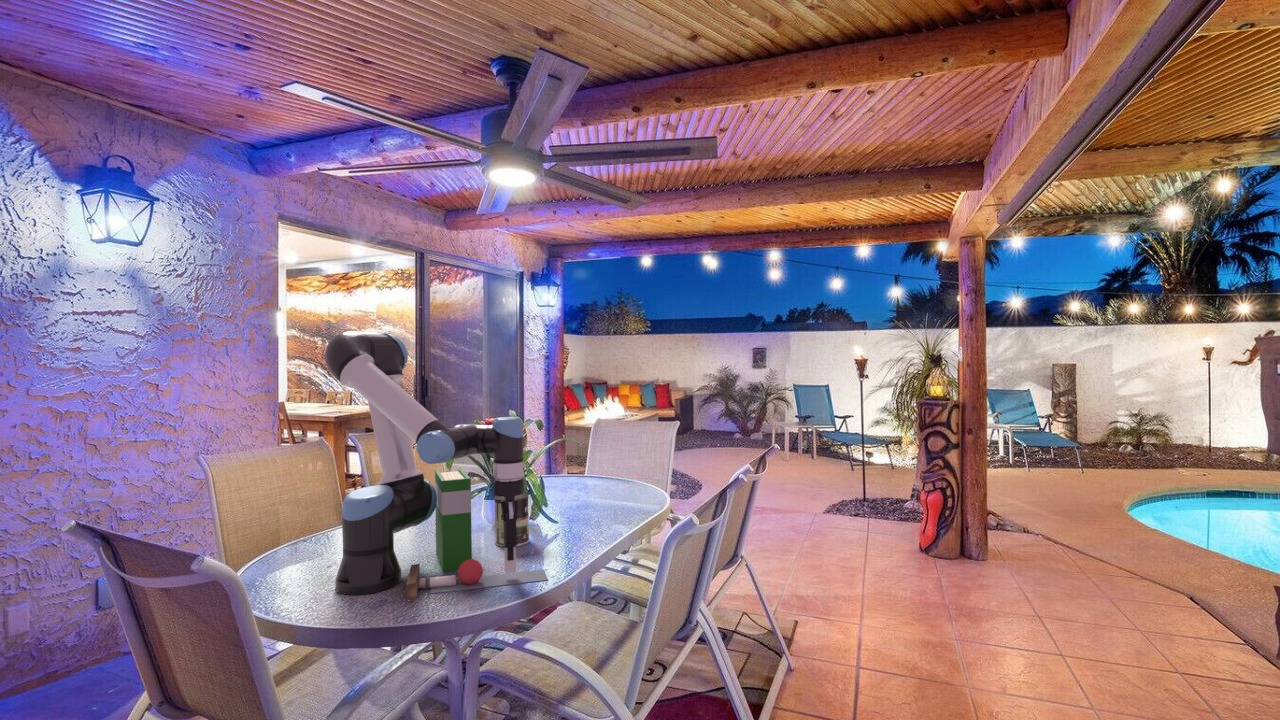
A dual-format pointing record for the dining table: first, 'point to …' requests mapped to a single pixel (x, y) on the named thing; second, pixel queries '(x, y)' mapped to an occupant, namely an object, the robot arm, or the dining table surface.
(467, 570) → the ball
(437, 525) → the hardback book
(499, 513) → the coffee can
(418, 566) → the stopper wall
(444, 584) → the pin
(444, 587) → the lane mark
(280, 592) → the dining table surface
